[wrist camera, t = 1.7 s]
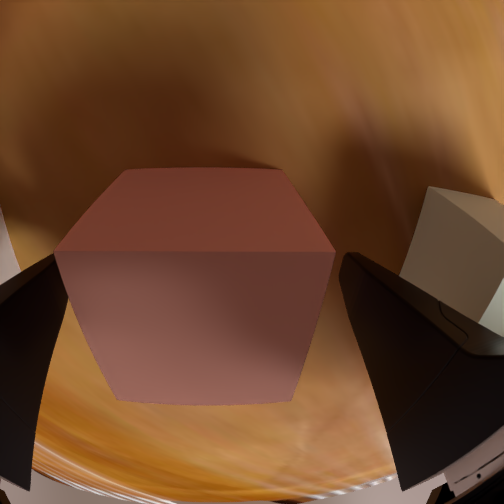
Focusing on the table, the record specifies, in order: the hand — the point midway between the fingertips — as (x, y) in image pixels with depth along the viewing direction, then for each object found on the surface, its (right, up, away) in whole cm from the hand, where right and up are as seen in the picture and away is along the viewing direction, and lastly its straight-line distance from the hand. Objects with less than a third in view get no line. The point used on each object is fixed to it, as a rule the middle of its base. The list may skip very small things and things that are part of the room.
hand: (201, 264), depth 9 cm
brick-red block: (0, +1, +1) cm, 2 cm away
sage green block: (+11, +1, +3) cm, 11 cm away
